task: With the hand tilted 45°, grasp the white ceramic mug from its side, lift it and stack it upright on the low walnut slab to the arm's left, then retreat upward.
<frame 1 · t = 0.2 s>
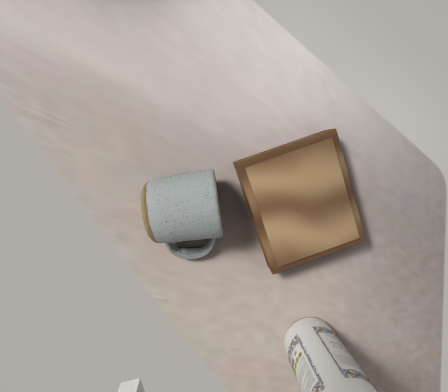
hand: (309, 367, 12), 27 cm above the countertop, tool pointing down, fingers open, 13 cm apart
ceramic mug: (190, 212, 39), on the countertop
walnut base: (295, 199, 40), on the countertop
bath foam: (307, 338, 43), on the countertop
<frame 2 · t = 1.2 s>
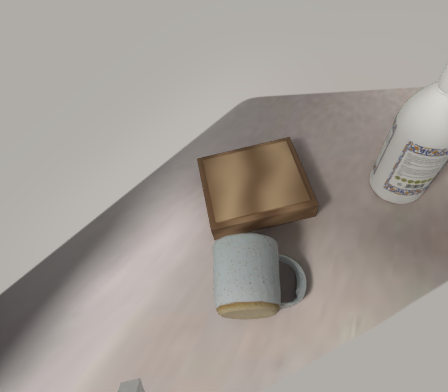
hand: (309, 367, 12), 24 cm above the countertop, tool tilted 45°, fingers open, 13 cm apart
ceramic mug: (259, 284, 39), on the countertop
walnut base: (254, 191, 46), on the countertop
bath foam: (394, 184, 44), on the countertop
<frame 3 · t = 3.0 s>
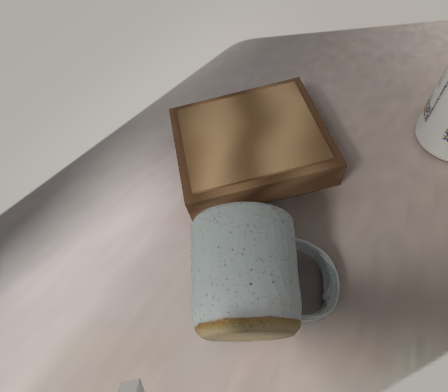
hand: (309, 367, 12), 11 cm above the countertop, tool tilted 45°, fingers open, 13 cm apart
ceramic mug: (264, 285, 25), on the countertop
walnut base: (250, 154, 32), on the countertop
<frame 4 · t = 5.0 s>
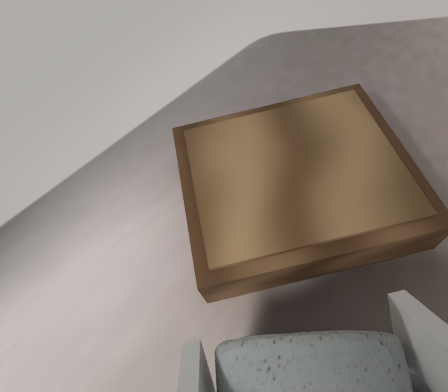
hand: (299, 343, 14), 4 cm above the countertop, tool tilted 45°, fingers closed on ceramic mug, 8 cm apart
walnut base: (289, 194, 22), on the countertop
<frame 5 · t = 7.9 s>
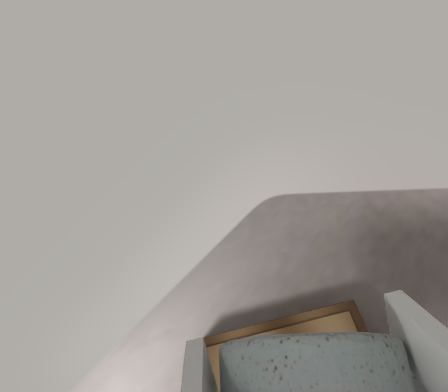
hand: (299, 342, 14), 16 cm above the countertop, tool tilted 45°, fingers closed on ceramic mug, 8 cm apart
when the fingers open (7 cm above the countertop, at t = 10.4 s): ceramic mug stays where it is, resting on walnut base.
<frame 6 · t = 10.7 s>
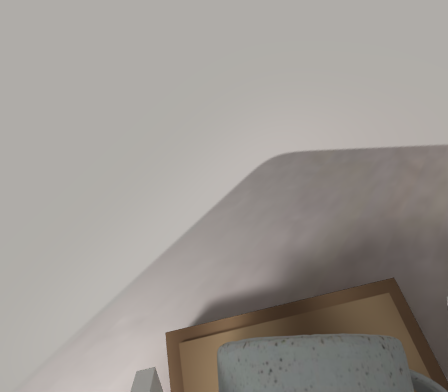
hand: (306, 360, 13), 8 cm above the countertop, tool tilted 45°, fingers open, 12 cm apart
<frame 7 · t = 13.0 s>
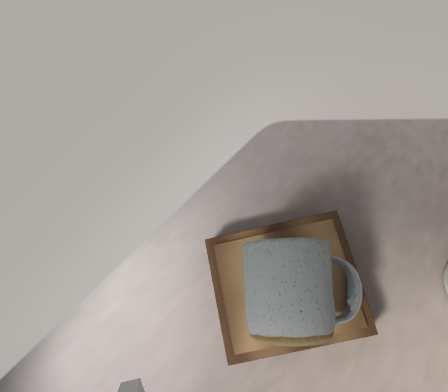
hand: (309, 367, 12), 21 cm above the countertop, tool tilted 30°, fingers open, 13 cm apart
ceramic mug: (297, 286, 31), point 3 cm above the countertop, touching walnut base
walnut base: (283, 284, 34), on the countertop
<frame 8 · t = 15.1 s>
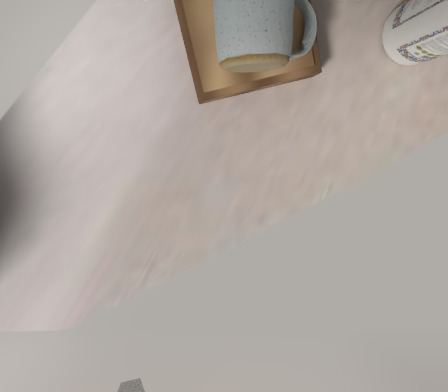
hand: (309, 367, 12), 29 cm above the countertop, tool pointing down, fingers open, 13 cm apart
ceramic mug: (260, 31, 34), point 3 cm above the countertop, touching walnut base
walnut base: (245, 37, 36), on the countertop
bath foam: (407, 35, 37), on the countertop
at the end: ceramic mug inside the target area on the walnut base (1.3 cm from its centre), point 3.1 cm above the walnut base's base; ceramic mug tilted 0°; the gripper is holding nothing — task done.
